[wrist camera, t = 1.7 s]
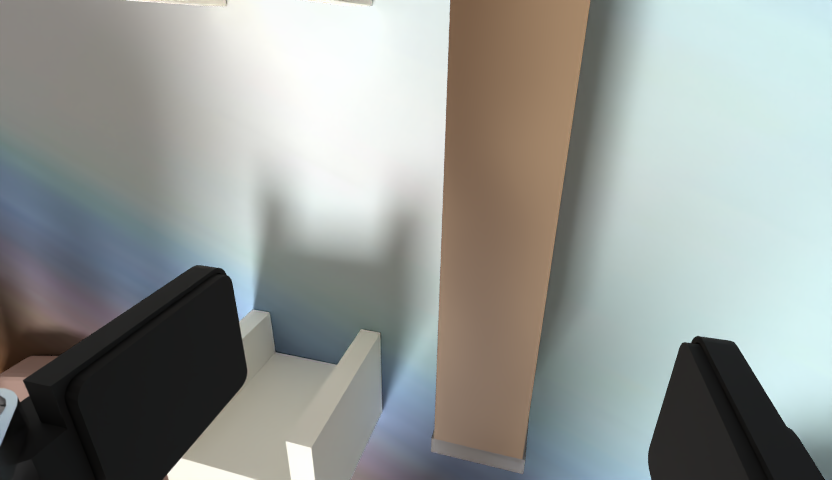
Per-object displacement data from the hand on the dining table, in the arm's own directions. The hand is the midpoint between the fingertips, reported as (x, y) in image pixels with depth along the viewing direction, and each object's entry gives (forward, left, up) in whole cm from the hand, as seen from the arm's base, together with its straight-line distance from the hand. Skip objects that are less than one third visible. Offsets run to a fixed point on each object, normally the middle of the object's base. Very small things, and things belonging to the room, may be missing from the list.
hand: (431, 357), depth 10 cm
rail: (-1, 0, -10) cm, 10 cm away
